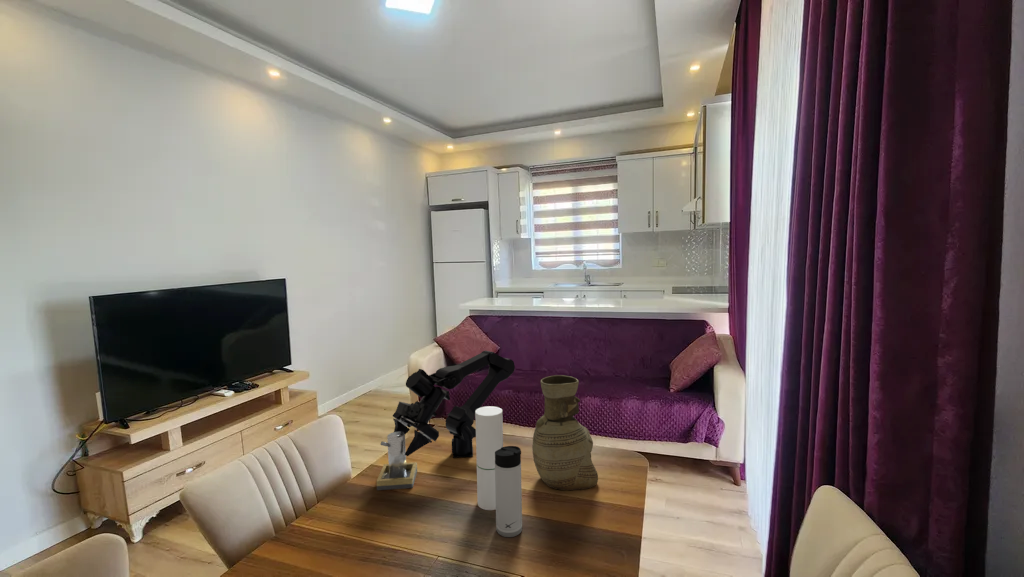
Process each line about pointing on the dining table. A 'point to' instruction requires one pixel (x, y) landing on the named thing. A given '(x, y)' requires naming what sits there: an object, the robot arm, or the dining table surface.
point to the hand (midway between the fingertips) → (398, 450)
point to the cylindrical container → (487, 453)
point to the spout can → (396, 454)
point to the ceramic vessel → (563, 438)
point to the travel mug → (508, 491)
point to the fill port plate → (397, 483)
